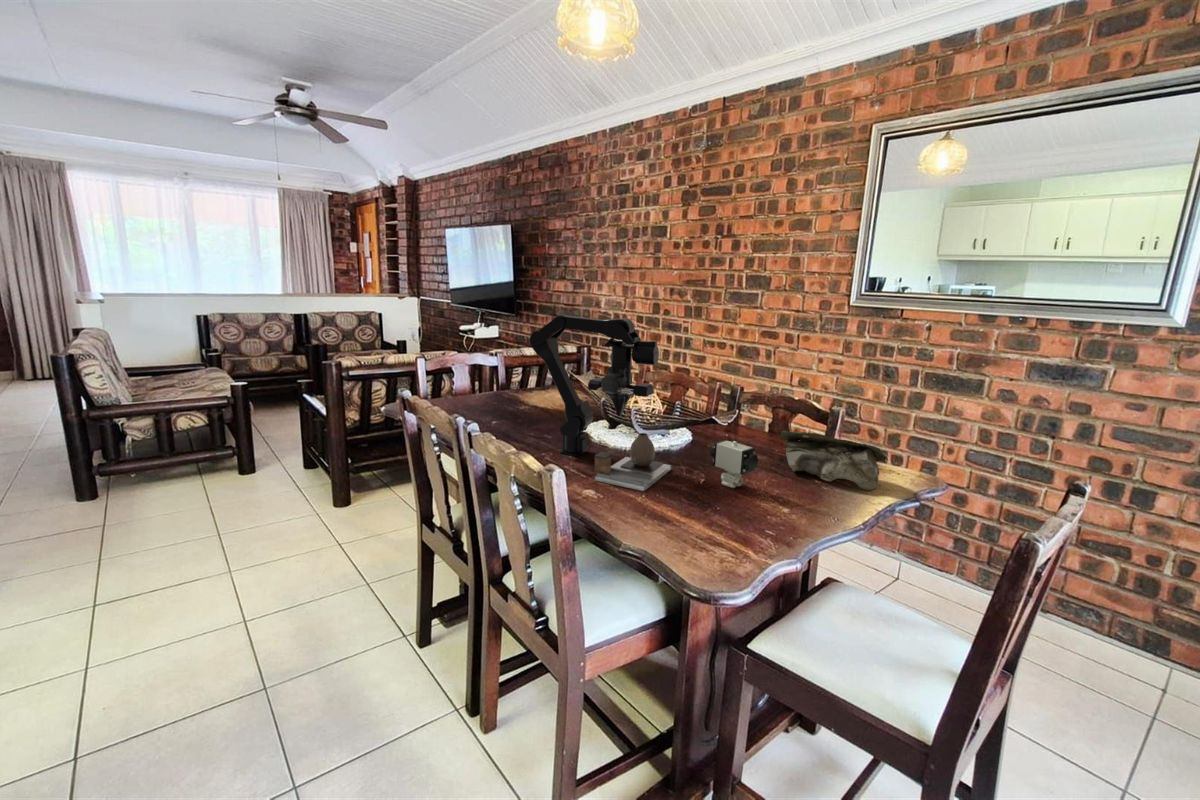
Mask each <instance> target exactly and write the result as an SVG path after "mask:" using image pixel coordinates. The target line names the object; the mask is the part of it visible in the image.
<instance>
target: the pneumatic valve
mask: <svg viewBox="0 0 1200 800" xmlns="http://www.w3.org/2000/svg"><path fill="white" fill-rule="evenodd" d="M709 456H710V458H711V459H712V462H713V465H712V466H713V467H716V468H720V469H721V470H722V469H723V470H724V472H722V473H721V475H720V480H721V485H723V486H726V487H728V488H731V489H735V488H737V487H741V486H742V485H743V480H744V479H743V477H742V476H744V475H746V474H749V473H751V472H754V471H755V469H756V468H757V467H758V463H759V457H758V455H757V454H756V452H755V448H754V447H752V446H748V445H745V444H741V443H740V442H739V443H738V441H735V440H733V441H729V440H726V439H725V440H722V441H717V442H715V443H714V444H713V445H712V446H711V448H710V451H709Z"/></svg>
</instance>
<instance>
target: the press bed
mask: <svg viewBox="0 0 1200 800" xmlns="http://www.w3.org/2000/svg"><path fill="white" fill-rule="evenodd" d="M671 470H672V465H670V464H666V463H664V462H660V461H654V460H653V461H652V463H651V464H650V465H648V466H644V467H641V466H637V465H635V464H634V463H633V462H632V460H631V457H629V456H625V457H624V458H622V459H620V460H619V461H617V462H615V463H614V464H611V472H610V473H608V474H605V473H600V472H598V473H597V474H595V476H594V481H595V482H600V483H605V484H610V485H614V486H618V487H622V488H627V489H631V490H636V491H640V492H645V491H646V490H648V489H649V488H650V487H651V486H652V485H654V484H655V483H656V482H657V481H659V480H660V479H661V478H662V477H663V476H665V475H666V474H667V473H668V472H670V471H671Z"/></svg>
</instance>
